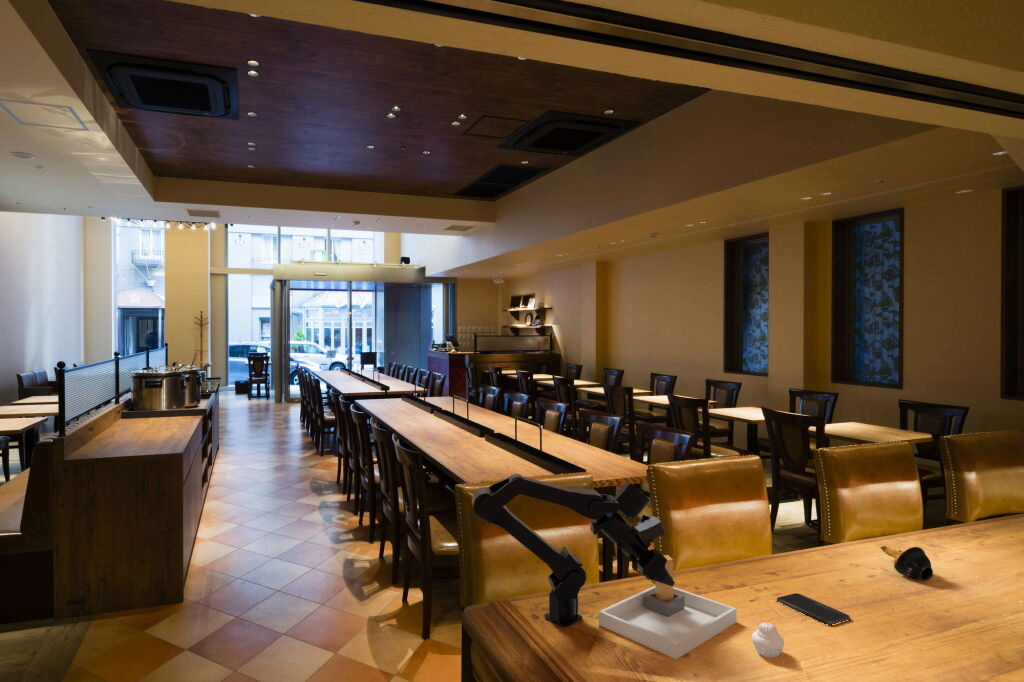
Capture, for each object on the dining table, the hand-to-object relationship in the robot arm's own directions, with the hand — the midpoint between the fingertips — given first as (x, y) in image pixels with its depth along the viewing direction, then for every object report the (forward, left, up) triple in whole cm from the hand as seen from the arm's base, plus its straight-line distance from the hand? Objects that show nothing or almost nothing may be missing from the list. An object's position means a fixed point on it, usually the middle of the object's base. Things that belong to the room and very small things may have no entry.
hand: (666, 577), depth 143 cm
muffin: (-2, -26, -9) cm, 27 cm away
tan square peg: (0, 0, -7) cm, 7 cm away
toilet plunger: (+71, -30, -9) cm, 77 cm away
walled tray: (-6, -5, -8) cm, 12 cm away
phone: (+27, -23, -9) cm, 36 cm away
